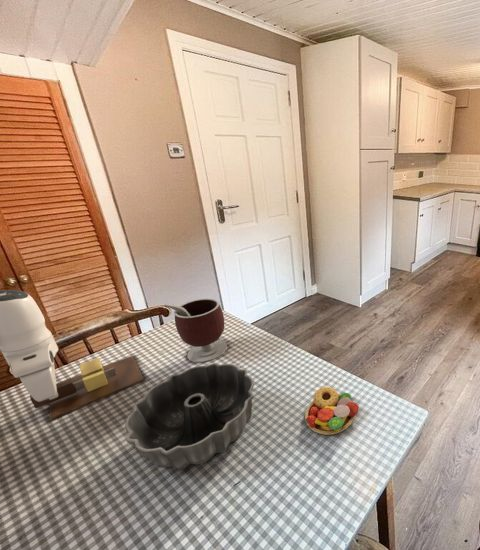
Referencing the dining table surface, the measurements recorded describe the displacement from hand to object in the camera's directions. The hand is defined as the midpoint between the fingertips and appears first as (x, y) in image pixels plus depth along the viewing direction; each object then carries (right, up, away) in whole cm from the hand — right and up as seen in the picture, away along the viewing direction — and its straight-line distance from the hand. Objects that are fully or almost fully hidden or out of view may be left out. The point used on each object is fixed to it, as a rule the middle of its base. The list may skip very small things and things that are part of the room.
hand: (53, 393), depth 81 cm
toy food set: (+75, -5, -3) cm, 75 cm away
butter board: (+5, -1, +8) cm, 9 cm away
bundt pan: (+44, -6, -7) cm, 45 cm away
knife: (+3, 0, +3) cm, 4 cm away
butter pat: (+7, 0, +6) cm, 9 cm away
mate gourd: (+29, +5, +22) cm, 37 cm away
